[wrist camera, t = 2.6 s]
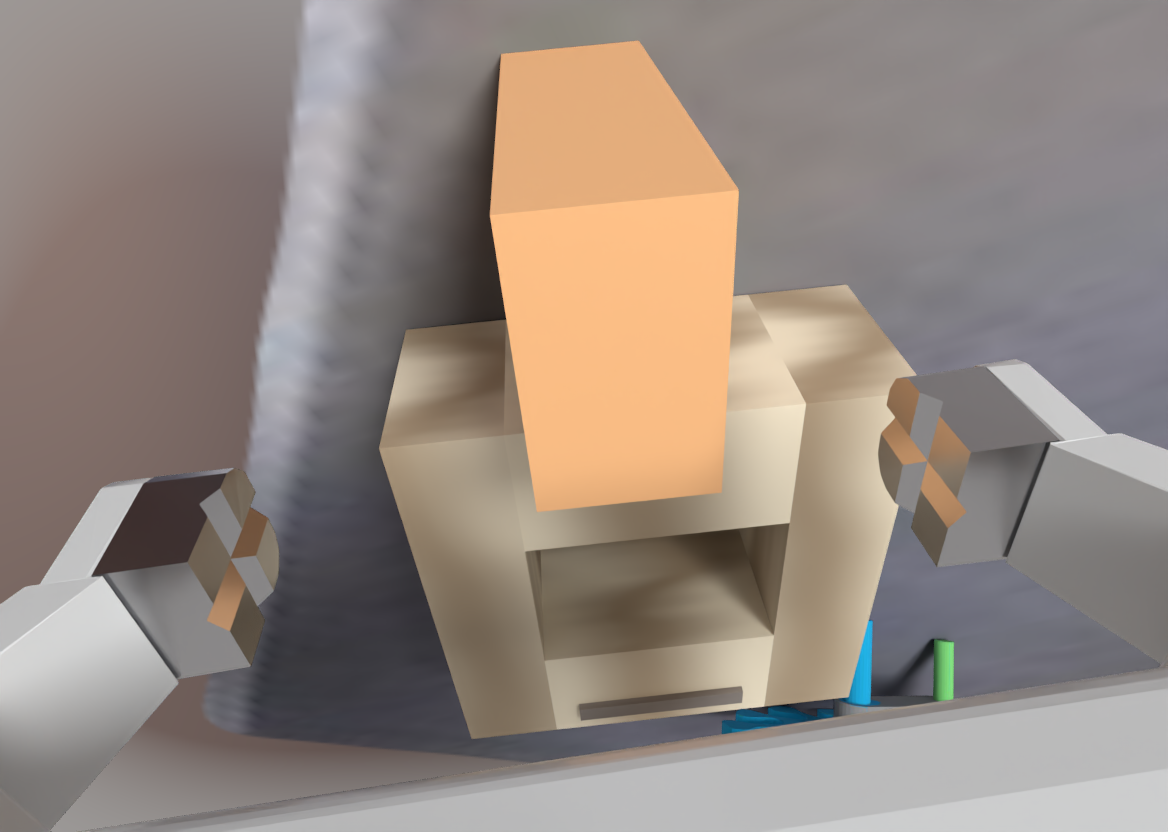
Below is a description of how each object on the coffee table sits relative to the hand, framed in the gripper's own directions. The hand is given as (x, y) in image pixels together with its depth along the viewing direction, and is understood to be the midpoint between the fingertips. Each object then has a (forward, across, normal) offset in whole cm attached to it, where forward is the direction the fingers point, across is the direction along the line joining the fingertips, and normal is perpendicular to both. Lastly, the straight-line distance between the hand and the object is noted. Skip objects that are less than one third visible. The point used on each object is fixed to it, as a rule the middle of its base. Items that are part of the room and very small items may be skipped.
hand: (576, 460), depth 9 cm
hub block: (+10, -2, +10) cm, 14 cm away
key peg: (+10, -1, 0) cm, 10 cm away
